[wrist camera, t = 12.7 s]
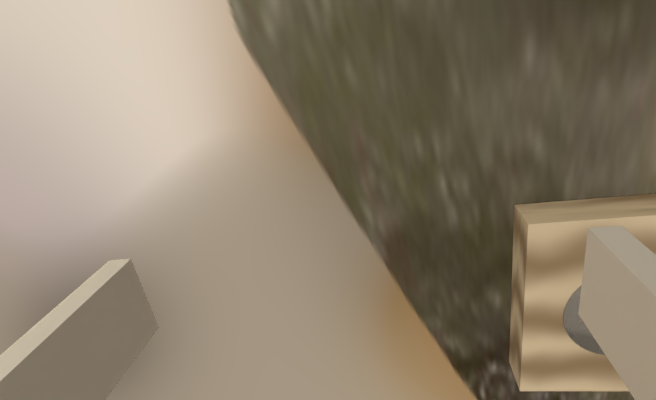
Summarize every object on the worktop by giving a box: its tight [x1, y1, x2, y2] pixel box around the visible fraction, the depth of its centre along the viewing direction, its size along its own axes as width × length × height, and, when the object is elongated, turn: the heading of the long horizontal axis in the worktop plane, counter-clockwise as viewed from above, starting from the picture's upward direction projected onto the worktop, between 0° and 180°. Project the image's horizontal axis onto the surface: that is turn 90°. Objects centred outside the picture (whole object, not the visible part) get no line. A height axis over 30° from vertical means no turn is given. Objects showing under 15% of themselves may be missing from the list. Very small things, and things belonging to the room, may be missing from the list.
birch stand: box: [509, 194, 656, 391], centre depth 38 cm, size 20×17×4 cm
